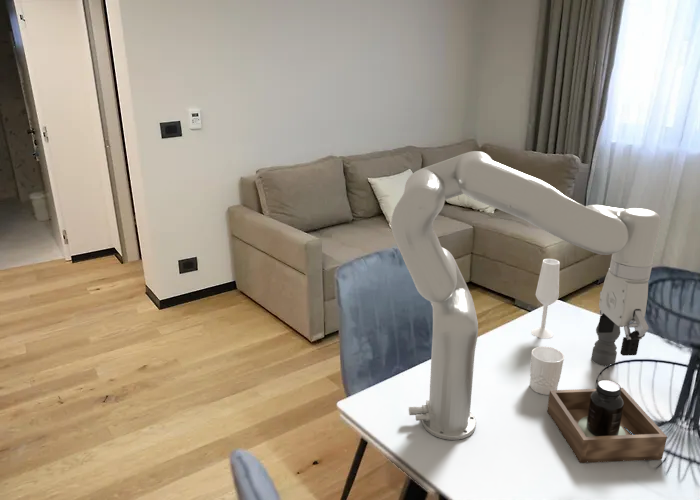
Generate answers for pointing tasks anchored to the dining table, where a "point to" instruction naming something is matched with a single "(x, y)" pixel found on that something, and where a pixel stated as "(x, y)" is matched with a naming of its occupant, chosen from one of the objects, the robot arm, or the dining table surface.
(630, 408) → the walnut box
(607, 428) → the supplement bottle
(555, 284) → the champagne flute
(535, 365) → the white cup
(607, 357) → the candle holder
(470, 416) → the robot arm
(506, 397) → the dining table surface
